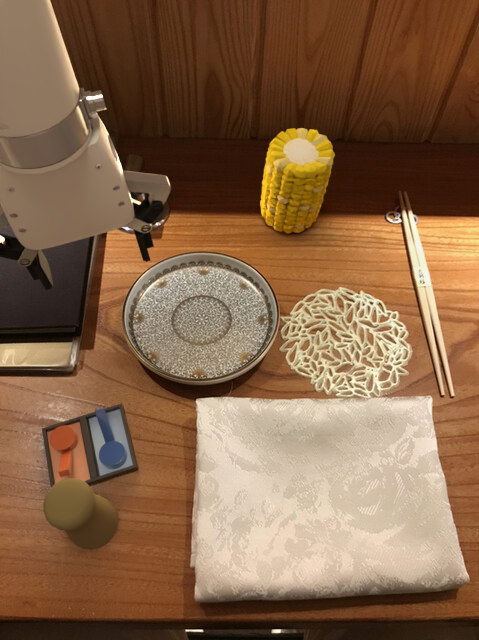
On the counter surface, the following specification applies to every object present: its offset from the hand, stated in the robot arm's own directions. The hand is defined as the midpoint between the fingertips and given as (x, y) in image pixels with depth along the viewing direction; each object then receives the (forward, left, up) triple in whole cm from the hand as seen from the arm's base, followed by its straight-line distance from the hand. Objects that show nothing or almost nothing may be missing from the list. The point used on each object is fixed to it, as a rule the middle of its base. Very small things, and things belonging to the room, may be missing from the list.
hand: (96, 264), depth 55 cm
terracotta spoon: (-12, -9, -24) cm, 28 cm away
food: (+29, +19, -24) cm, 42 cm away
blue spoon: (-6, -9, -24) cm, 26 cm away
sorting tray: (-9, -9, -24) cm, 27 cm away
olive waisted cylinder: (-10, -17, -24) cm, 32 cm away
